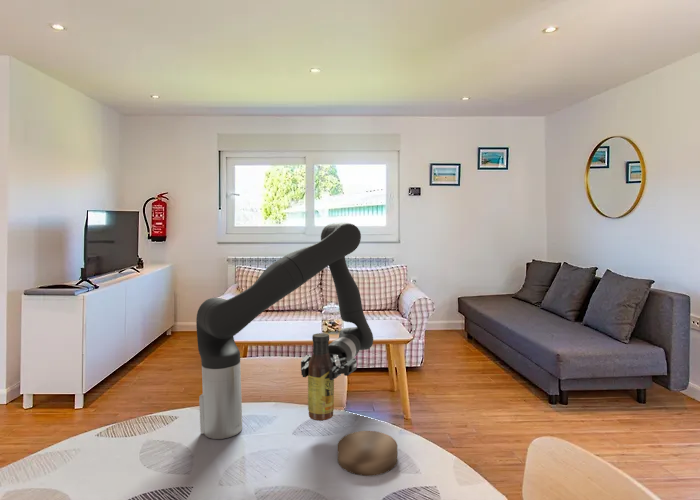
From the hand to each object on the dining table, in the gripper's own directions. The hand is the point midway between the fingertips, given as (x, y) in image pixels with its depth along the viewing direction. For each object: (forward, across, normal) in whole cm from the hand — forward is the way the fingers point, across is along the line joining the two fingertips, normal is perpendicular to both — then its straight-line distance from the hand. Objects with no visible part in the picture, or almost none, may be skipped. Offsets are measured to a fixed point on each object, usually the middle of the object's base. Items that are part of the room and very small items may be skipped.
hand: (317, 374), depth 101 cm
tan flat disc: (+4, +13, +16) cm, 21 cm away
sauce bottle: (-2, 0, +11) cm, 11 cm away
